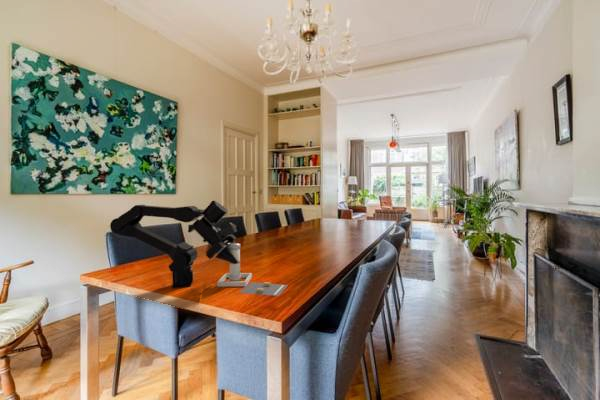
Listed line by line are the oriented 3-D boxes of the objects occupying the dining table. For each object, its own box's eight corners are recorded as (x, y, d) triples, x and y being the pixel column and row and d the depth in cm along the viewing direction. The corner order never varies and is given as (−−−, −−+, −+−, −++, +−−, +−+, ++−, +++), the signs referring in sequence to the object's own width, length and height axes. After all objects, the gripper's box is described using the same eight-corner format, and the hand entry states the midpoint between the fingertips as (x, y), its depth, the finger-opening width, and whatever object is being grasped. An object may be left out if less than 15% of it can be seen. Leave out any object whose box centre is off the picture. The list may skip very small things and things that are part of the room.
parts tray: (217, 289, 96) (217, 282, 96) (226, 279, 107) (225, 273, 106) (245, 288, 96) (245, 281, 96) (251, 279, 106) (251, 273, 106)
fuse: (231, 281, 98) (230, 245, 98) (228, 278, 102) (227, 243, 102) (242, 279, 100) (241, 244, 100) (239, 276, 104) (238, 242, 104)
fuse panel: (238, 295, 90) (238, 289, 90) (251, 285, 100) (251, 279, 100) (278, 298, 87) (278, 292, 87) (287, 288, 96) (287, 282, 96)
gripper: (214, 219, 91) (247, 251, 91) (230, 214, 110) (258, 241, 110) (192, 242, 92) (225, 275, 92) (211, 234, 110) (239, 260, 110)
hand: (238, 261), depth 101 cm, fingers closed on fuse, 4 cm apart
